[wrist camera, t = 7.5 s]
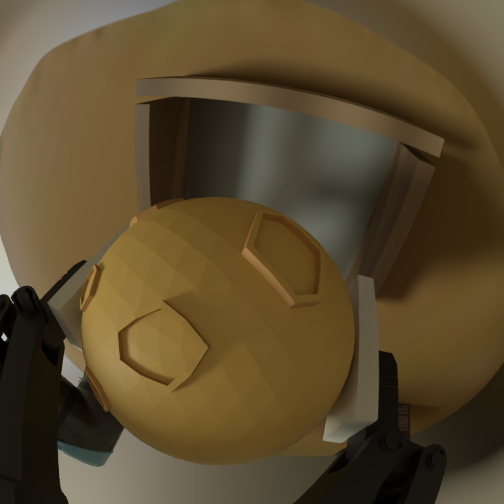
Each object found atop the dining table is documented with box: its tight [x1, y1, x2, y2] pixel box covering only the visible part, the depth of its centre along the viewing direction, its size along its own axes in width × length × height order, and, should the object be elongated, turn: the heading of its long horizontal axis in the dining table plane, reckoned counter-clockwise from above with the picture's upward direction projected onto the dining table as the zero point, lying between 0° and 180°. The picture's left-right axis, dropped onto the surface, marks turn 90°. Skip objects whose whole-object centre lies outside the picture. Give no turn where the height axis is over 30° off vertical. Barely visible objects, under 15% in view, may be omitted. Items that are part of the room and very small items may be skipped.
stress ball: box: [80, 197, 355, 466], centre depth 10 cm, size 10×10×10 cm
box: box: [398, 404, 410, 441], centre depth 31 cm, size 6×6×7 cm
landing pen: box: [135, 76, 445, 299], centre depth 18 cm, size 16×16×6 cm
